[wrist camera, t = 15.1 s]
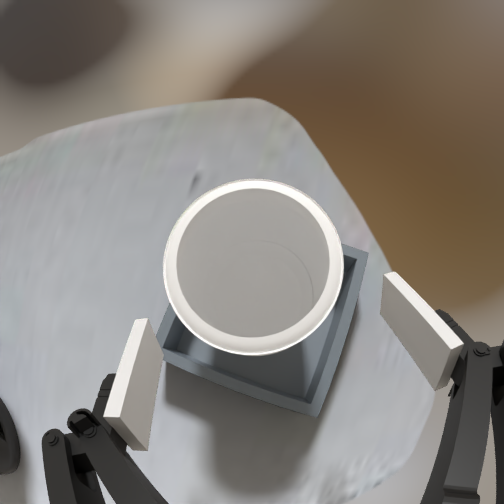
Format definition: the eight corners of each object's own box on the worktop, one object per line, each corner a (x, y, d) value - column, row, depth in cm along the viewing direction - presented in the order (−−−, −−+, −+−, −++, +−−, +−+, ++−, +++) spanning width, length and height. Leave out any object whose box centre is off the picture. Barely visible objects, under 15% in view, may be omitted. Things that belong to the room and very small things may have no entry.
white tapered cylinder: (306, 359, 28) (342, 359, 14) (204, 351, 29) (148, 341, 15) (311, 260, 32) (341, 182, 18) (216, 253, 33) (180, 173, 19)
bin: (166, 354, 29) (149, 353, 25) (221, 224, 34) (215, 203, 30) (309, 408, 27) (317, 417, 22) (355, 268, 32) (368, 252, 27)
